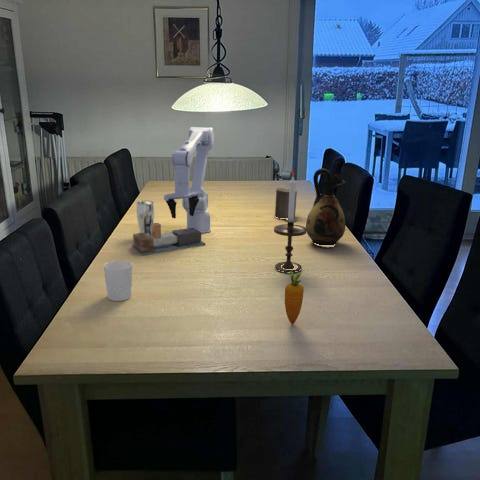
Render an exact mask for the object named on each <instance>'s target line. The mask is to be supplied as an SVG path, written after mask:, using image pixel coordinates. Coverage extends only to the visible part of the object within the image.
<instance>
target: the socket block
mask: <svg viewBox="0 0 480 480" xmlns="http://www.w3.org/2000/svg"><path fill="white" fill-rule="evenodd" d="M132 239H133V241H132V242H133V245H134V246H135V247H136V248H137V249H139V250H140V251H141V252H148V251H154V241H153V238H152V237H150V236H149V235H147V234H146V233H132Z"/></svg>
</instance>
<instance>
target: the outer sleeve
mask: <svg viewBox="0 0 480 480" xmlns="http://www.w3.org/2000/svg"><path fill="white" fill-rule="evenodd" d="M186 228H187V227H186ZM186 228H180V229H175V230H171V231H172V232H171V233H176V234H177V235H178V242H179V243H173V244H166V245H160V246H154V251H148V252H141V251H140V250H139V249H137V248H136V247H135V246H134V244H131V248H132V249H133V250H134V251H136V252H137V253H138V254H140V255H141V256H146V255H147V256H148V255H154V254H158V253H159V254H160V253H165V252H171V251H177V250H185V249H189V248H190V249H191V248H196V247H203V246H206V242H204V241H202V233H201V232H200V231H198V230H196V229H195V228H187V229H186Z"/></svg>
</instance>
